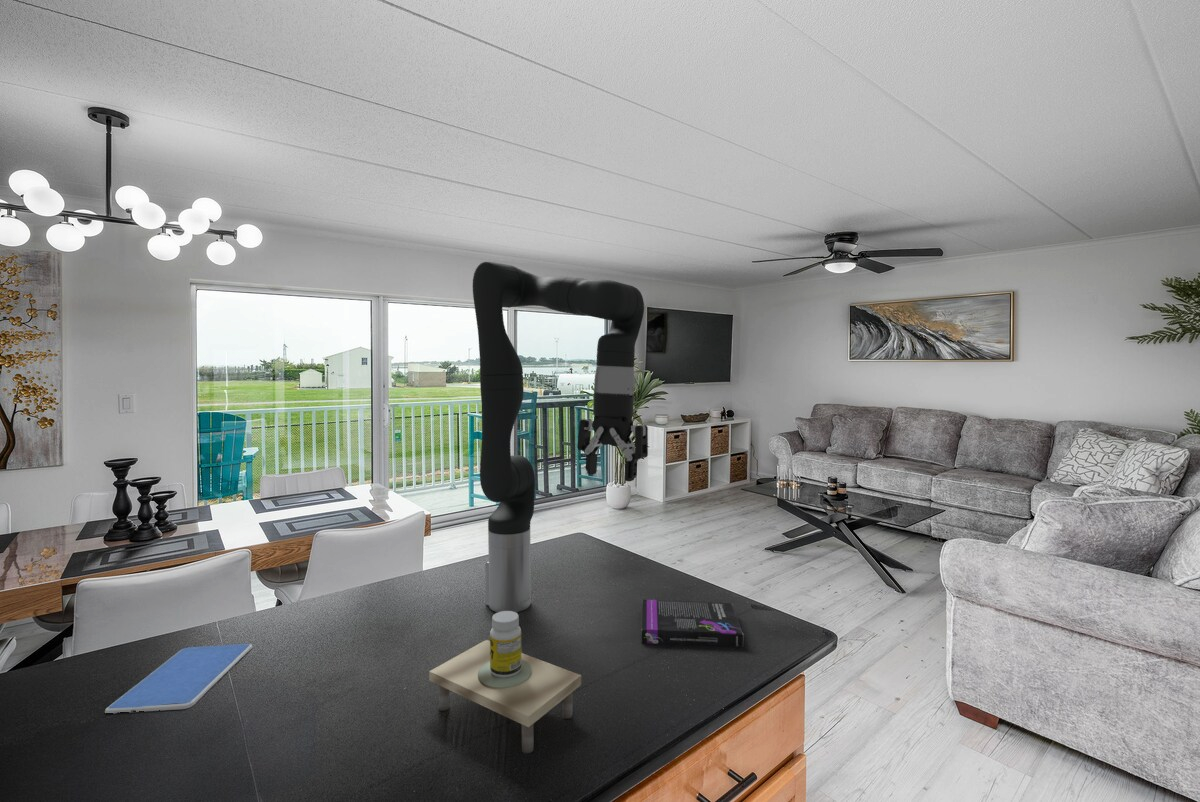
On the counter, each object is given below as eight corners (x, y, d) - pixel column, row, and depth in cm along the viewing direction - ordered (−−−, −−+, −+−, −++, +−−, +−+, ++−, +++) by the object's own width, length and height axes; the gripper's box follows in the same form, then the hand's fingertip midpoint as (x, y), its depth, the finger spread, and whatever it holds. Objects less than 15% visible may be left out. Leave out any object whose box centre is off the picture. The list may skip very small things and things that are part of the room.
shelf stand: (429, 709, 84) (429, 668, 84) (486, 673, 94) (486, 637, 94) (528, 760, 73) (528, 713, 73) (581, 713, 83) (581, 672, 83)
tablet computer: (190, 712, 85) (189, 703, 84) (101, 718, 83) (100, 709, 83) (254, 649, 104) (254, 642, 104) (183, 653, 102) (182, 646, 102)
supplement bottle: (492, 662, 86) (491, 609, 85) (522, 661, 86) (522, 608, 86) (488, 679, 81) (487, 623, 81) (520, 678, 81) (520, 622, 81)
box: (640, 647, 105) (744, 650, 103) (640, 629, 105) (744, 632, 103) (641, 614, 119) (733, 616, 117) (641, 598, 119) (733, 600, 117)
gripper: (571, 389, 103) (568, 474, 104) (636, 393, 95) (632, 486, 96) (594, 389, 109) (591, 469, 110) (657, 393, 101) (653, 480, 102)
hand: (610, 477), depth 103 cm, fingers open, 8 cm apart
